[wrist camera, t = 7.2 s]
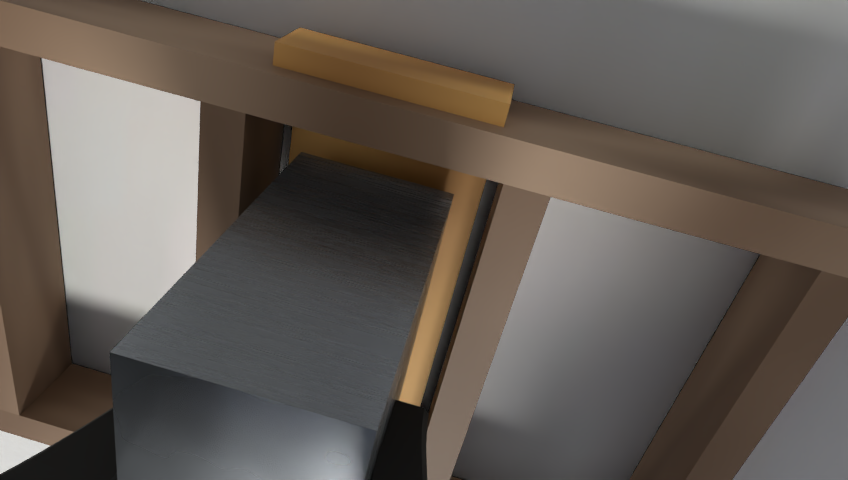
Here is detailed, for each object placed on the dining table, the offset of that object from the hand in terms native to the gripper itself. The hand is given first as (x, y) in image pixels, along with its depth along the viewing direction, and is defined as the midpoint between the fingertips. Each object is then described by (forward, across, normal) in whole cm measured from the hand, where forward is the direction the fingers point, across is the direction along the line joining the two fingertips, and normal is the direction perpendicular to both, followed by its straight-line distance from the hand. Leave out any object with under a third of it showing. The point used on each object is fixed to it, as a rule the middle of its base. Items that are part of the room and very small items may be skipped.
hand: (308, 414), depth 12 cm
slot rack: (+4, 0, 0) cm, 4 cm away
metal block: (+3, 0, 0) cm, 3 cm away
